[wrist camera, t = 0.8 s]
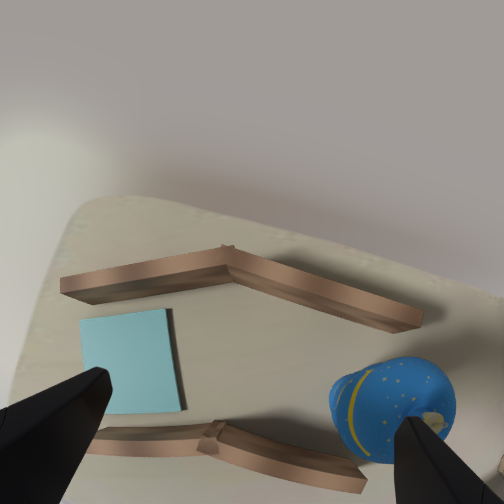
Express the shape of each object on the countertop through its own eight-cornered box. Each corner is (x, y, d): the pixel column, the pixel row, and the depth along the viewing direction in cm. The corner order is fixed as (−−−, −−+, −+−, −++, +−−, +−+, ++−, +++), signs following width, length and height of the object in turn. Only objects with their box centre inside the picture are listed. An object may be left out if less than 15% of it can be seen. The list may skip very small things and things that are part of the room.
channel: (441, 378, 21) (474, 379, 17) (209, 548, 17) (198, 578, 12) (259, 167, 28) (257, 133, 24) (47, 329, 24) (13, 321, 19)
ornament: (306, 361, 23) (367, 369, 9) (369, 353, 23) (490, 341, 8) (309, 424, 21) (367, 509, 7) (372, 414, 21) (487, 466, 7)
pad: (166, 308, 25) (165, 308, 24) (182, 410, 22) (180, 411, 21) (81, 320, 24) (79, 319, 24) (93, 412, 22) (91, 413, 21)
